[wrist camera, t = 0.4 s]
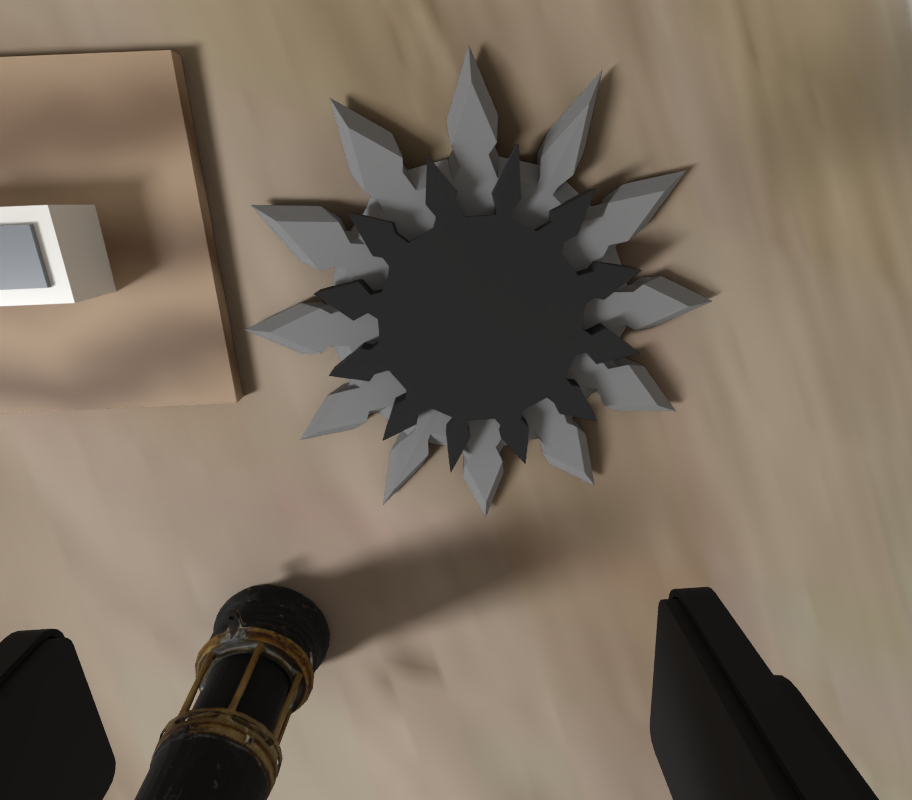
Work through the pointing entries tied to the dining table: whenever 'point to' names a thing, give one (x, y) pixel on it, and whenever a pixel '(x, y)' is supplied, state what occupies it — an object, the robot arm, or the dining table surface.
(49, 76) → the floor panel
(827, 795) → the robot arm
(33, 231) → the block
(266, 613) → the lantern
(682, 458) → the dining table surface
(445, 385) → the decorative piece
